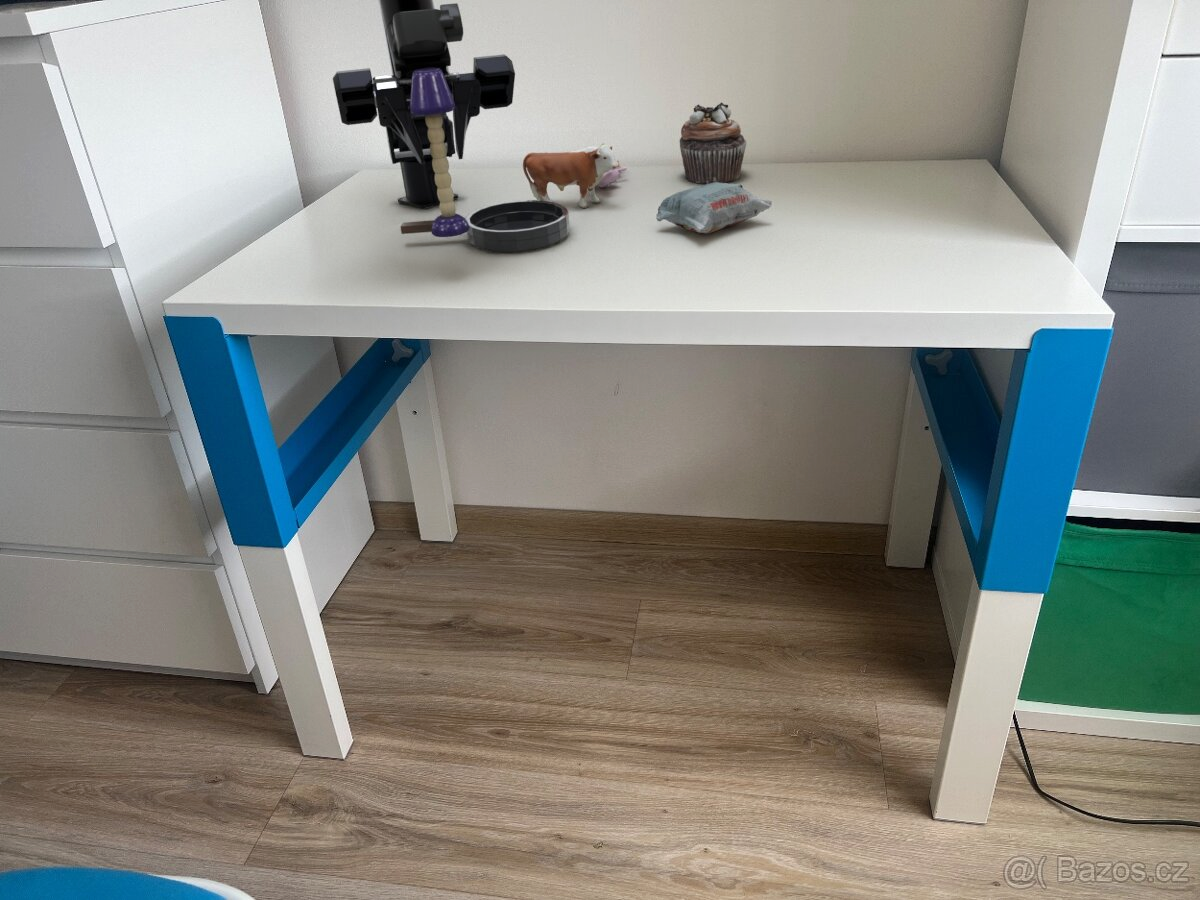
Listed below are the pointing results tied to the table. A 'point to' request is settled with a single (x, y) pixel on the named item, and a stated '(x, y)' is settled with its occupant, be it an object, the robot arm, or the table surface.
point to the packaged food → (711, 207)
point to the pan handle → (416, 227)
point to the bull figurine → (569, 170)
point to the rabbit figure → (610, 175)
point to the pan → (518, 226)
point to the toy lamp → (437, 144)
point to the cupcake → (712, 146)
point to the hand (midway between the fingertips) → (441, 159)
